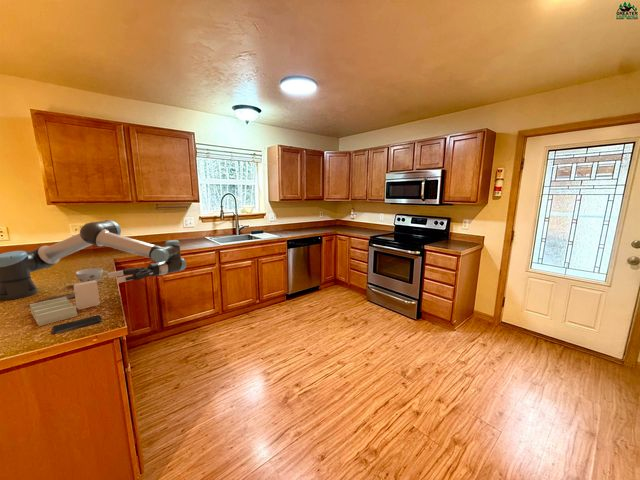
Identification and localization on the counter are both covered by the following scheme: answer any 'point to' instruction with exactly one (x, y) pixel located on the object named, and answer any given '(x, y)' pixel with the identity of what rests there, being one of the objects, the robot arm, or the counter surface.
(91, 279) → the teacup
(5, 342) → the counter surface
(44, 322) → the slotted rack base
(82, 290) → the beige rectangular block
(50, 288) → the counter surface
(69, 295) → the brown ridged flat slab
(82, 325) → the phone
